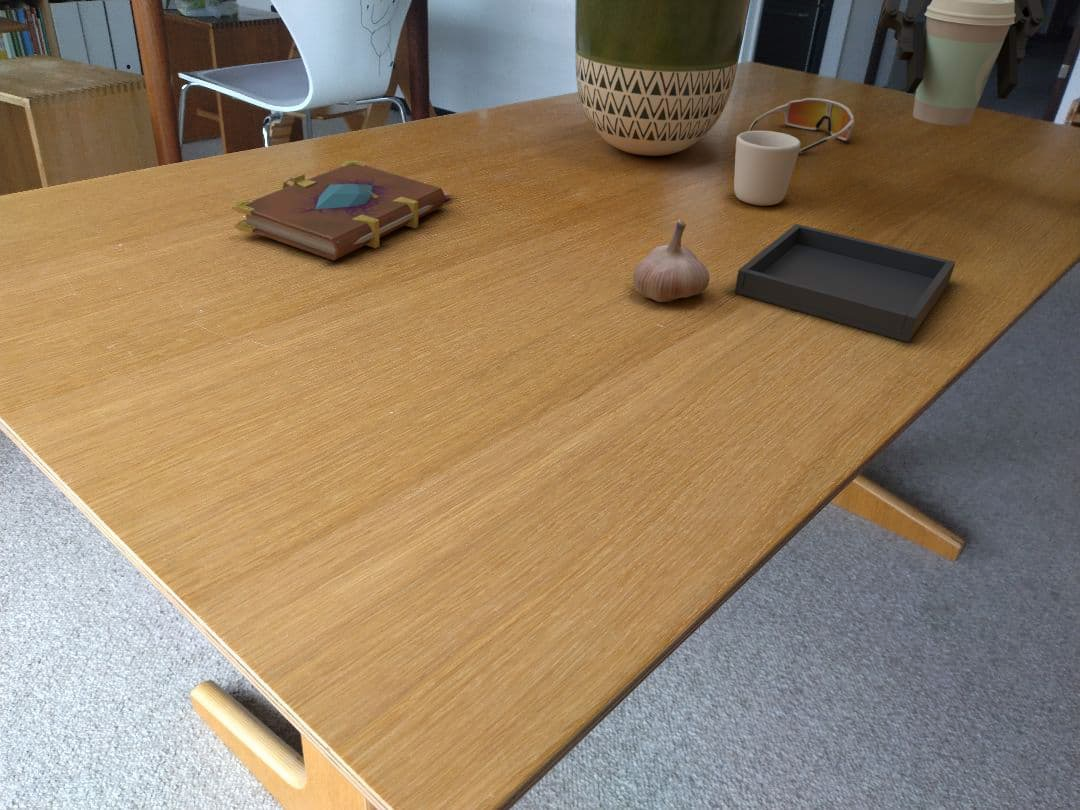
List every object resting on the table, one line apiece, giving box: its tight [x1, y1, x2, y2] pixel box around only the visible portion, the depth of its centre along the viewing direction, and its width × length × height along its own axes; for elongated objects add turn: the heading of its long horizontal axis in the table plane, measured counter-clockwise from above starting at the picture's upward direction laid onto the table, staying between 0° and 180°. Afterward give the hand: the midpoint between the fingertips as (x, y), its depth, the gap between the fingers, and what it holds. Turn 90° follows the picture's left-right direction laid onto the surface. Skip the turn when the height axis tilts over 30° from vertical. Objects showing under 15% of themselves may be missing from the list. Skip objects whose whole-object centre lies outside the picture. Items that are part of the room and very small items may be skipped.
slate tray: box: [734, 223, 956, 343], centre depth 91 cm, size 18×17×3 cm
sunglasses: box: [748, 97, 855, 155], centre depth 140 cm, size 14×15×5 cm
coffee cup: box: [912, 0, 1016, 127], centre depth 91 cm, size 8×9×12 cm
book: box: [231, 159, 453, 261], centre depth 104 cm, size 16×25×5 cm, turn 151°
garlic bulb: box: [632, 219, 710, 303], centre depth 87 cm, size 8×7×8 cm
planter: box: [574, 0, 752, 157], centre depth 125 cm, size 24×24×27 cm
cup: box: [733, 130, 802, 207], centre depth 114 cm, size 11×8×8 cm
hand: (961, 88), depth 89 cm, fingers closed on coffee cup, 8 cm apart
